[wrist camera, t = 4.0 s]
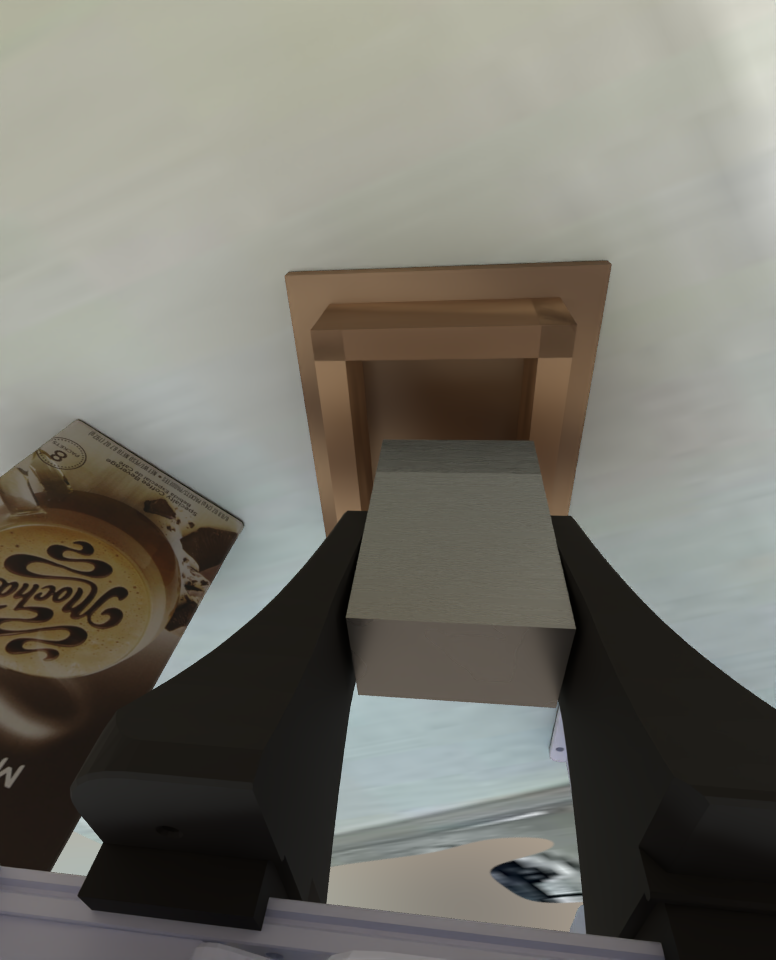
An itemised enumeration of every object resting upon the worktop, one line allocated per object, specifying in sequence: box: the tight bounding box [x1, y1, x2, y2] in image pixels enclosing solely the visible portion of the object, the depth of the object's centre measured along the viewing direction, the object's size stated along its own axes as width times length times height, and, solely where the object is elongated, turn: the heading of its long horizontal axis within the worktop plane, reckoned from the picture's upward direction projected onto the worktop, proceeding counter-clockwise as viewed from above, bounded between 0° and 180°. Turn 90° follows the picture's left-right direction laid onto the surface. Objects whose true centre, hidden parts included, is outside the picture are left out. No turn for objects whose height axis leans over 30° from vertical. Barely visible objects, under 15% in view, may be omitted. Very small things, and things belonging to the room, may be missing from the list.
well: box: [285, 261, 612, 538], centre depth 20 cm, size 12×11×4 cm
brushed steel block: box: [346, 439, 576, 708], centre depth 13 cm, size 6×4×6 cm, turn 3°
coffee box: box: [0, 420, 243, 872], centre depth 19 cm, size 9×6×16 cm
